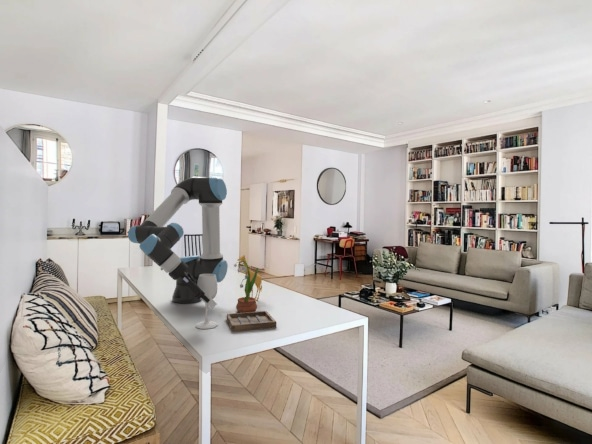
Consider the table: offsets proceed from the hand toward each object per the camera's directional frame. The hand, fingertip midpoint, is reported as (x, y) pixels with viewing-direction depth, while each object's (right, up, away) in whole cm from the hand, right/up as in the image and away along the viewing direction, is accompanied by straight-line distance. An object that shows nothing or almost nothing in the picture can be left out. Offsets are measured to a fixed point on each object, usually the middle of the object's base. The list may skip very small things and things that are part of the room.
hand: (212, 302), depth 139 cm
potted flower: (+10, -10, +21) cm, 25 cm away
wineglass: (-2, -10, -1) cm, 10 cm away
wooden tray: (+15, -10, +4) cm, 19 cm away
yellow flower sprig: (+10, -9, +39) cm, 41 cm away
